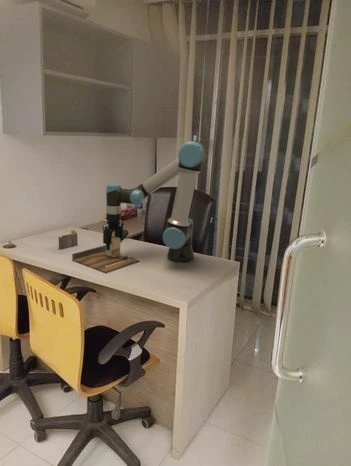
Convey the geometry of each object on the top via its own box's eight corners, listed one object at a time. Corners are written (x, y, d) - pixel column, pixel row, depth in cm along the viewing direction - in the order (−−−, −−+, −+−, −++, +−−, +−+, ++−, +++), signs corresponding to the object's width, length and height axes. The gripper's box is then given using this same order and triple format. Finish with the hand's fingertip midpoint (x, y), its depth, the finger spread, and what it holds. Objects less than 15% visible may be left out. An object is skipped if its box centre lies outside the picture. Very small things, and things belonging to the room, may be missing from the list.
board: (139, 261, 196) (139, 255, 195) (106, 273, 177) (106, 266, 176) (106, 251, 211) (106, 244, 210) (72, 260, 192) (72, 253, 191)
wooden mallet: (129, 258, 197) (129, 240, 194) (122, 260, 193) (123, 242, 190) (112, 253, 204) (112, 235, 202) (105, 255, 200) (105, 237, 198)
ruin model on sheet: (74, 245, 220) (74, 229, 218) (77, 246, 218) (77, 230, 216) (58, 249, 211) (57, 233, 209) (61, 250, 210) (61, 234, 207)
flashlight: (121, 236, 245) (121, 228, 243) (129, 236, 243) (129, 229, 242) (111, 241, 230) (111, 233, 229) (119, 242, 229) (119, 234, 228)
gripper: (120, 209, 203) (120, 249, 209) (95, 214, 190) (95, 256, 195) (130, 211, 199) (129, 252, 205) (105, 216, 185) (105, 259, 191)
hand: (113, 254), depth 200 cm, fingers closed on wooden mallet, 5 cm apart
